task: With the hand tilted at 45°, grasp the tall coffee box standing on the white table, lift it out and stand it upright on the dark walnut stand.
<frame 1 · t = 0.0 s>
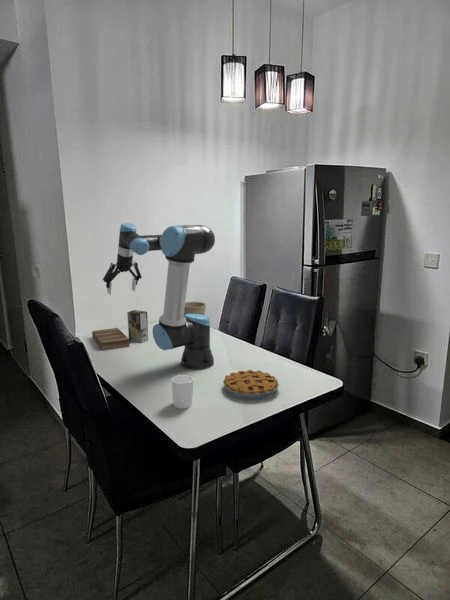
hand: (121, 291, 212), 28 cm above the table, tool tilted 20°, fingers open, 13 cm apart
walnut stand: (110, 342, 220), on the table
plant pot: (193, 330, 242), on the table
pie: (250, 390, 163), on the table
white cup: (182, 405, 150), on the table
coffee box: (138, 340, 223), on the table
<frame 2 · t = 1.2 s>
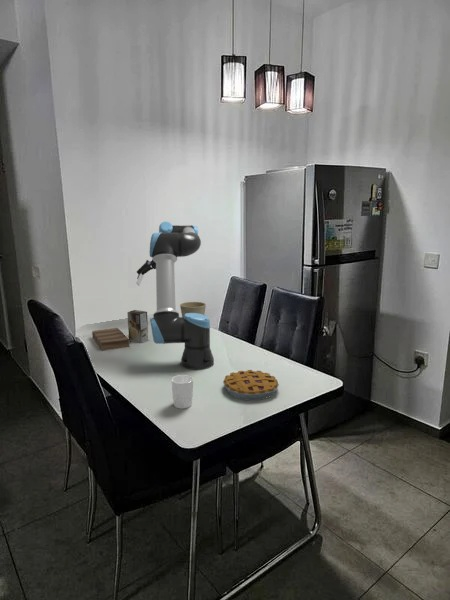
hand: (148, 285, 228), 28 cm above the table, tool tilted 45°, fingers open, 13 cm apart
nothing on the table moved.
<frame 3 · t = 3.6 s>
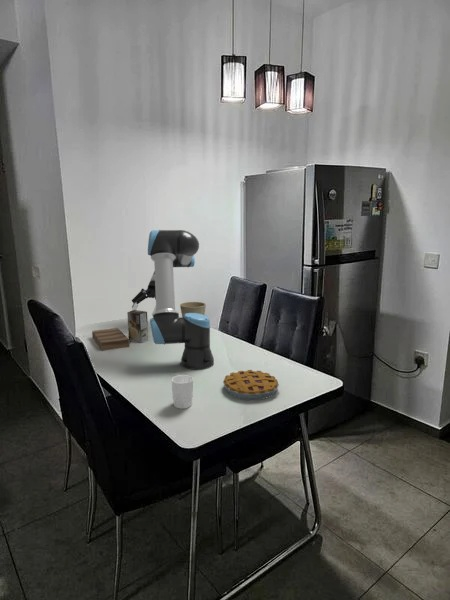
hand: (142, 314, 226), 13 cm above the table, tool tilted 45°, fingers open, 13 cm apart
nothing on the table moved.
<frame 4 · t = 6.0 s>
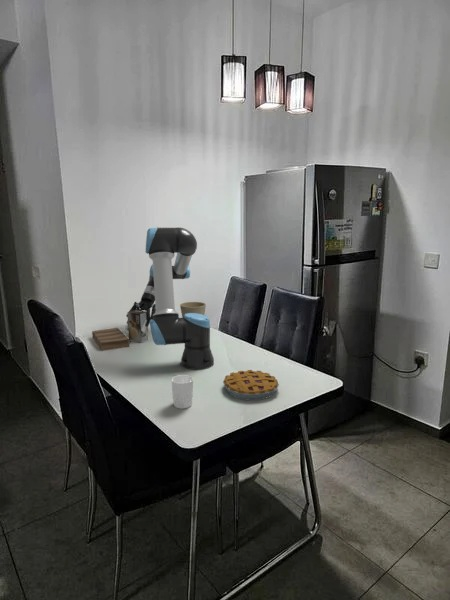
hand: (134, 330, 219), 6 cm above the table, tool tilted 45°, fingers closed on coffee box, 9 cm apart
coffee box: (138, 340, 223), on the table, touching gripper
everything else where it was.
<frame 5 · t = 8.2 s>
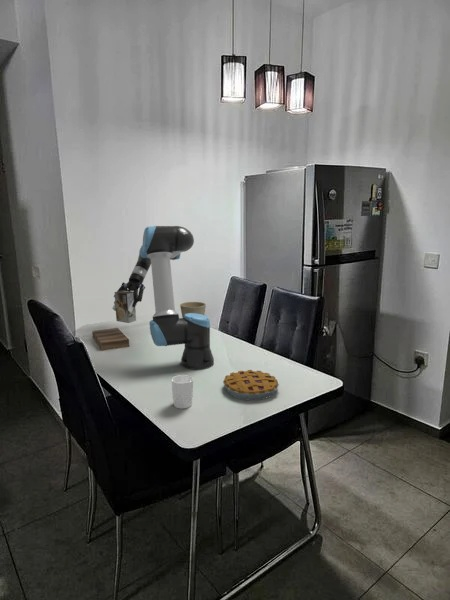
hand: (121, 310, 216), 17 cm above the table, tool tilted 45°, fingers closed on coffee box, 9 cm apart
coffee box: (126, 321, 220), point 11 cm above the table, touching gripper
everything else where it was.
when the fingers open (12 cm above the table, at t = 10.6 s): coffee box drops 1 cm, resting on walnut stand.
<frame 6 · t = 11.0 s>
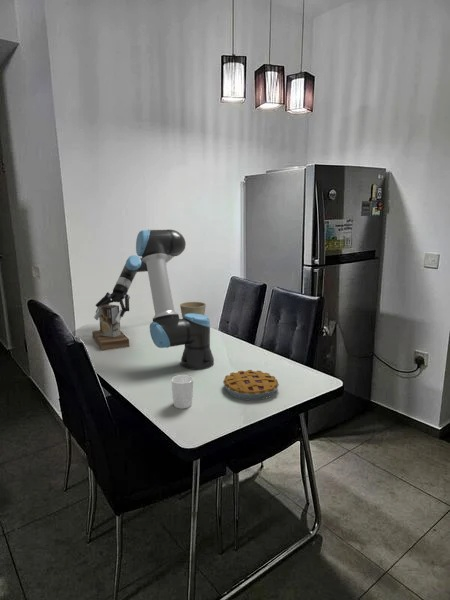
hand: (106, 320, 215), 13 cm above the table, tool tilted 45°, fingers open, 13 cm apart
coffee box: (110, 335, 219), point 4 cm above the table, touching walnut stand
everything else where it was.
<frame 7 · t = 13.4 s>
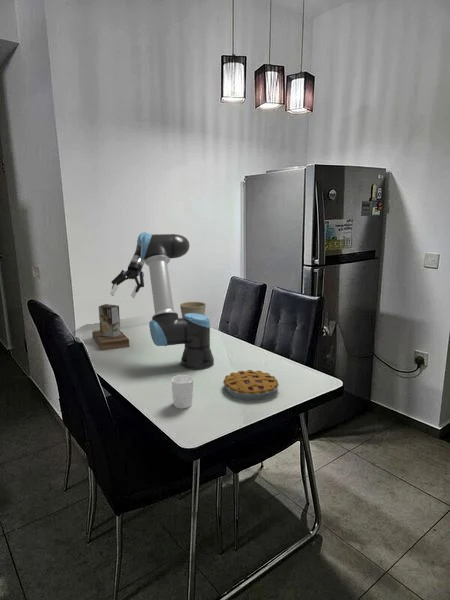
hand: (122, 295, 224), 23 cm above the table, tool tilted 45°, fingers open, 13 cm apart
nothing on the table moved.
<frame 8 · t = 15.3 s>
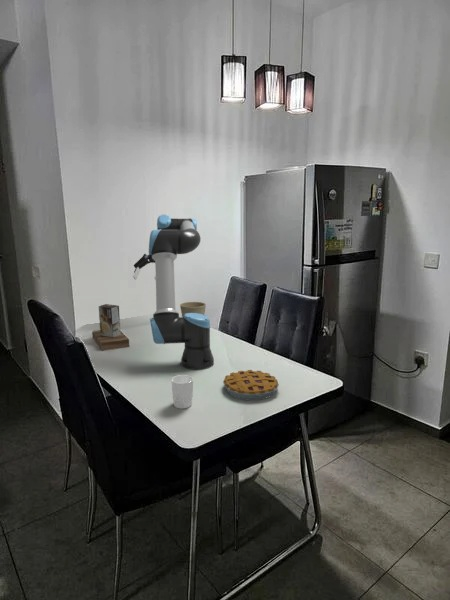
hand: (145, 278, 223), 33 cm above the table, tool tilted 45°, fingers open, 13 cm apart
nothing on the table moved.
at the end: coffee box inside the target area on the walnut stand (0.3 cm from its centre), point 3.8 cm above the walnut stand's base; coffee box tilted 0°; the gripper is holding nothing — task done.
